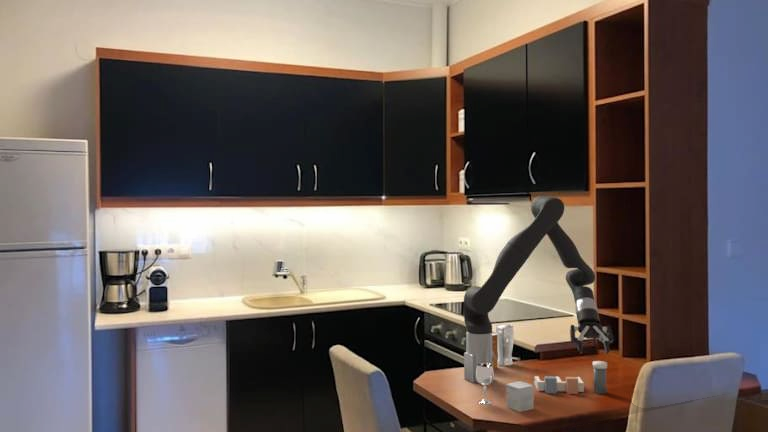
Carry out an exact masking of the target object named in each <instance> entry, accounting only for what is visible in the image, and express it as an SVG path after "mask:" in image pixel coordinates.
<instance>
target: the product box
mask: <svg viewBox="0 0 768 432" xmlns="http://www.w3.org/2000/svg"><path fill="white" fill-rule="evenodd" d="M534 391H535V385H532V384H530V383H527V382H524V381H521V380H519V381H514V382H509V383H506V407H507V408H508V409H511V410H513V411H516V412H518V411H519V413H522V411H523V412H526V411H529V410H534V403H535V400H534V398H535V394H534V393H535V392H534Z"/></svg>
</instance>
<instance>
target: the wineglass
mask: <svg viewBox="0 0 768 432" xmlns="http://www.w3.org/2000/svg"><path fill="white" fill-rule="evenodd" d="M494 379H495V371H494V369H493V367H492V364H489V363H479V364H478V365H477V369H476V380H477V381H478V382H477V383H479V384H480V385H483V395H484V397H483V399H480V400H478V401H477V403H478V402H479V403H478V404H480V403H481V404H480V405H485V404H486V405H491V404H492V403H493V401H492V400H489V399H487V395H486V393H487V386H489V385H491V384H492V383H493V382H494Z"/></svg>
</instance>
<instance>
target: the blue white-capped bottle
mask: <svg viewBox="0 0 768 432" xmlns="http://www.w3.org/2000/svg"><path fill="white" fill-rule="evenodd" d="M592 368H593V393H594V394H596V395H605V394H607V368H608V362H606V361H605V360H603V361H602V360H594V361H592Z"/></svg>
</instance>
